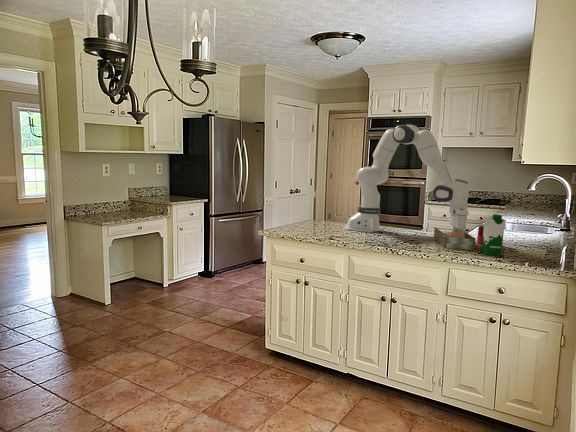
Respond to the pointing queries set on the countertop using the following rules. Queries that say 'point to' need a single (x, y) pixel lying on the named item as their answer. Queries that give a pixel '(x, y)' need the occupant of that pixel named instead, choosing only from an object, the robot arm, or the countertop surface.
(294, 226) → the countertop surface
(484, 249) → the milk carton
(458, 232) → the block
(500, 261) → the countertop surface
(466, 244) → the trap box
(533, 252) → the countertop surface
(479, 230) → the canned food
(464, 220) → the robot arm
